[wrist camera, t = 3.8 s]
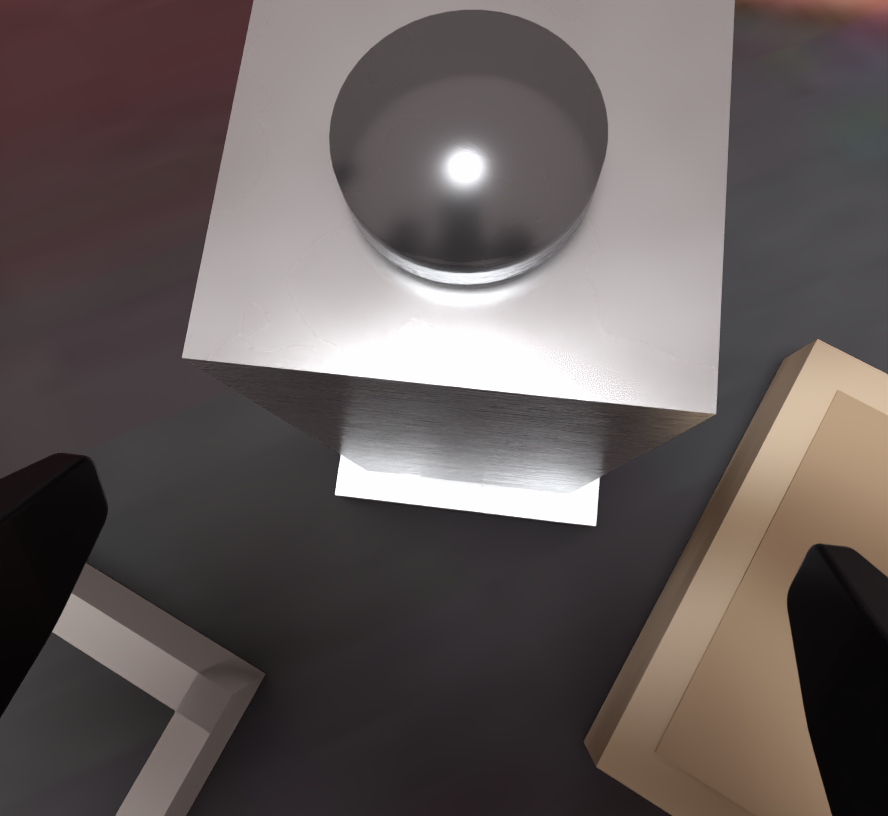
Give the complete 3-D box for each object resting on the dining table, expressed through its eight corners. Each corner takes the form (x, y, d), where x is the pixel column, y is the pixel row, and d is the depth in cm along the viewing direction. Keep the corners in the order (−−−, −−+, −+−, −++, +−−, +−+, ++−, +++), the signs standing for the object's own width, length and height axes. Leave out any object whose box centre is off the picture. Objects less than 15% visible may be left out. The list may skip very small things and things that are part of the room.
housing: (588, 527, 19) (824, 495, 6) (343, 497, 19) (63, 408, 6) (606, 307, 20) (832, -123, 7) (375, 285, 21) (193, -150, 8)
